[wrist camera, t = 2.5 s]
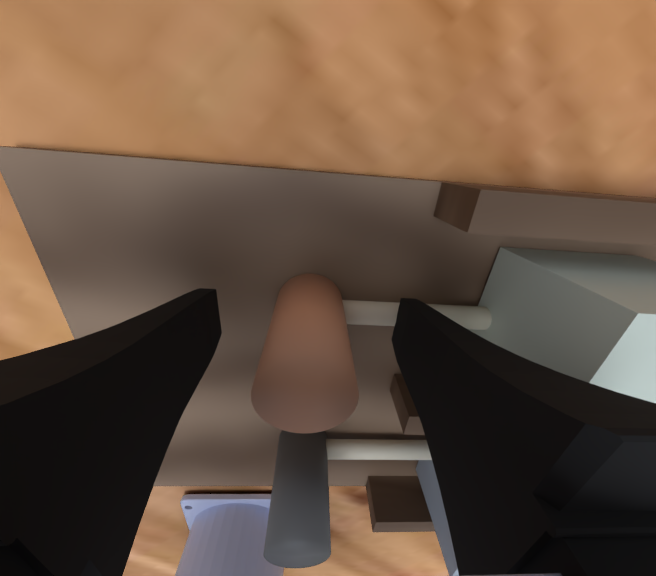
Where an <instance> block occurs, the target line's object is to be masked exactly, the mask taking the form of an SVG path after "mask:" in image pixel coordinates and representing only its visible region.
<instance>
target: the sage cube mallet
mask: <svg viewBox="0 0 656 576" xmlns="http://www.w3.org/2000/svg"><path fill="white" fill-rule="evenodd" d="M399 304H400V303H398V302H376V301H355V300H342V296H341V293H340V291H339V289H338V287H337V286H336V285H335V284H334V283H333V282H332V281H331V280H329V279H328V278H326V277H324V276H321V275H318V274H301V275H298V276H295V277H293V278H291V279H290V280H288V281H287V282H286V283H285V284H284V285H283V286H282V288H281V289H280V291H279V294H278V297H277V301H276V304H275V308H274V312H273V315H272V319H271V322H270V326H269V329H268V333H267V336H266V340H265V343H264V347H263V350H262V354H261V357H260V361H259V364H258V368H257V371H256V375H255V379H254V382H253V386H252V390H251V401H252V405H253V407H254V409H255V411H256V413H257V414H258V415H259V416H260V417H261V418H262V419H263V420H264V421H265V422H267V423H268V424H270V425H272V426H273V427H276V428H278V429H281V430H284V431H288V432H293V433H317V432H322V431H325V430H329V429H331V428H334V427H336V426H338V425H339V424H341V423H342V422H344V421H345V420H346V419H348V418H349V417H350V415H351V414H352V413H353V412H354V410H355V408H356V406H357V404H358V400H359V391H358V385H357V379H356V374H355V368H354V362H353V357H352V351H351V346H350V340H349V335H348V329H347V324H353V325H377V326H395V323H396V319H397V313H398V308H399ZM427 305H429V306H430V307H432V308H434V309H435V310H437V311H438V312H440V313H442V314H443V315H445V316H446V317H448V318H450V319H451V320H453V321H455V322H456V323H458V324H459V325H461V326H463V327H465V328H466V329H469V330H470V331H471V332H473V333H475V334H477V335H479V336H480V337H482V338H484V339H486V340H488V341H490V342H492V343H494V344H496V345H498V346H500V347H502V348H504V349H506V350H508V351H510V352H512V353H514V354H516V355H519V356H521V357H523V358H525V359H528V360H530V361H532V362H535V363H537V364H540V365H542V366H545V367H547V368H550V369H552V370H555V371H557V372H560V373H563V374H565V375H568V376H571V377H574V378H576V379H579V380H582V381H585V382H588V383H591V384H594V385H597V386H600V387H603V388H606V389H609V390H612V391H615V392H618V393H622V394H625V395H628V396H632V397H635V398H639V399H642V400H646V401H649V402H653V403H656V261H653V260H650V259H647V258H643V257H640V256H634V255H619V254H603V253H587V252H571V251H556V250H540V249H524V248H509V247H500V249H499V252H498V255H497V257H496V260H495V262H494V265H493V268H492V270H491V273H490V276H489V278H488V281H487V283H486V286H485V289H484V291H483V294H482V296H481V299H480V302H479V304H478V306H461V305H440V304H427Z"/></svg>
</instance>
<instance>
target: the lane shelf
mask: <svg viewBox="0 0 656 576" xmlns="http://www.w3.org/2000/svg"><path fill="white" fill-rule="evenodd" d="M0 171H1V174H2V176H3V178H4V180H5V183H6V185H7V187H8V189H9V192H10V194H11V196H12V198H13V201H14V203H15V205H16V208H17V210H18V212H19V214H20V217H21V219H22V221H23V223H24V226H25V228H26V230H27V232H28V235H29V237H30V239H31V241H32V244H33V246H34V248H35V251H36V253H37V255H38V257H39V260H40V262H41V264H42V266H43V269H44V271H45V273H46V275H47V278H48V280H49V282H50V284H51V287H52V289H53V291H54V294H55V296H56V298H57V300H58V303H59V305H60V307H61V309H62V312H63V314H64V316H65V318H66V321H67V323H68V325H69V327H70V330H71V332H72V334H73V337H74V339H78V338H81V337H84V336H86V335H89V334H92V333H95V332H98V331H101V330H103V329H106V328H109V327H111V326H114V325H116V324H119V323H121V322H124V321H126V320H128V319H131V318H133V317H135V316H138V315H140V314H142V313H145V312H147V311H149V310H152V309H154V308H156V307H158V306H160V305H162V304H164V303H167V302H169V301H171V300H173V299H175V298H177V297H179V296H182V295H184V294H186V293H188V292H191V291H193V290H196V289H199V288H205V289H216V291H217V299H218V307H219V315H220V322H221V330H222V334H221V337H220V340H219V343H218V346H217V348H216V351H215V354H214V356H213V358H212V360H211V362H210V364H209V366H208V367H207V369H206V371H205V373H204V375H203V377H202V379H201V380H200V382H199V384H198V386H197V388H196V390H195V391H194V393H193V395H192V397H191V399H190V401H189V402H188V404H187V406H186V408H185V410H184V412H183V414H182V416H181V418H180V420H179V423H178V425H177V428H176V430H175V432H174V435H173V437H172V439H171V442H170V444H169V447H168V449H167V452H166V454H165V457H164V459H163V462H162V464H161V467H160V470H159V472H158V475H157V477H156V480H155V482H154V485H153V486H273V479H274V472H275V465H276V457H277V450H278V442H279V436H280V433H281V432H282V431H283V430H281V429H278V428H276V427H273V426H272V425H270V424H268V423H267V422H265V421H264V420H263V419H262V418H261V417H260V416H259V415H258V414H257V413H256V411H255V409H254V407H253V405H252V401H251V390H252V386H253V382H254V379H255V375H256V371H257V368H258V364H259V361H260V357H261V354H262V350H263V347H264V343H265V340H266V336H267V333H268V329H269V326H270V322H271V319H272V315H273V312H274V308H275V304H276V301H277V297H278V294H279V291H280V289H281V288H282V286H283V285H284V284H285V283H286V282H287V281H288V280H290V279H291V278H293V277H295V276H298V275H301V274H318V275H321V276H324V277H326V278H328V279H329V280H331V281H332V282H333V283H334V284H335V285H336V286H337V287H338V289H339V291H340V293H341V296H342V300H355V301H376V302H398V303H400V300H401V298H411V299H418V300H420V301H422V302H423V303H425V304H440V305H461V306H478V304H479V302H480V299H481V296H482V294H483V291H484V289H485V286H486V283H487V281H488V278H489V276H490V273H491V270H492V268H493V265H494V262H495V260H496V257H497V255H498V252H499V249H500V247H509V248H524V249H540V250H556V251H571V252H587V253H603V254H619V255H634V256H640V257H643V258H647V259H650V260H653V261H656V198H645V197H633V196H621V195H608V194H596V193H583V192H571V191H558V190H546V189H534V188H521V187H509V186H496V185H484V184H471V183H459V182H447V181H434V180H422V179H409V178H397V177H384V176H372V175H360V174H347V173H335V172H322V171H310V170H297V169H285V168H272V167H260V166H248V165H235V164H223V163H210V162H198V161H185V160H173V159H161V158H148V157H136V156H123V155H111V154H98V153H86V152H74V151H61V150H49V149H36V148H24V147H7V146H0ZM347 329H348V335H349V340H350V346H351V351H352V357H353V362H354V368H355V374H356V379H357V385H358V391H359V400H358V404H357V406H356V408H355V410H354V412H353V413H352V414H351V415H350V417H349V418H348V419H346V420H345V421H344V422H342V423H341V424H339V425H338V426H336V427H334V428H331V429H329V430H325V433H326V435H327V439H375V440H426V437H425V434H424V430H423V427H422V423H421V421H420V418H419V415H418V412H417V410H416V407H415V405H414V403H413V400H412V398H411V395H410V393H409V390H408V388H407V386H406V383H405V381H404V378H403V376H402V373H401V371H400V368H399V366H398V363H397V360H396V356H395V353H394V348H393V344H392V340H391V339H392V335H393V330H394V326H377V325H353V324H347ZM468 330H469V329H468ZM418 461H419V460H328V485H329V486H366V490H367V497H368V504H369V510H370V517H371V524H372V530H373V532H425V531H435V528H434V525H433V522H432V519H431V516H430V513H429V509H428V506H427V503H426V500H425V497H424V494H423V491H422V487H421V484H420V481H419V478H418V475H417V472H416V467H417V464H418Z"/></svg>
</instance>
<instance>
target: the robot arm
mask: <svg viewBox="0 0 656 576" xmlns="http://www.w3.org/2000/svg"><path fill="white" fill-rule="evenodd" d="M221 334H222V330H221V322H220V315H219V307H218V299H217V291H216V289H205V288H199V289H196V290H193V291H191V292H188V293H186V294H184V295H182V296H179V297H177V298H175V299H173V300H171V301H169V302H167V303H164V304H162V305H160V306H158V307H156V308H154V309H152V310H149V311H147V312H145V313H142V314H140V315H138V316H135V317H133V318H131V319H128V320H126V321H124V322H121V323H119V324H116V325H114V326H111V327H109V328H106V329H103V330H101V331H98V332H95V333H92V334H89V335H86V336H84V337H81V338H78V339H75V340H72V341H68V342H65V343H61V344H58V345H55V346H51V347H48V348H44V349H41V350H38V351H34V352H31V353H27V354H24V355H20V356H16V357H13V358H9V359H5V360H1V361H0V576H122V575H123V572H124V569H125V566H126V563H127V560H128V557H129V554H130V551H131V548H132V545H133V542H134V539H135V536H136V533H137V530H138V527H139V524H140V521H141V518H142V516H143V513H144V510H145V507H146V505H147V502H148V499H149V496H150V493H151V491H152V488H153V485H154V482H155V480H156V477H157V475H158V472H159V470H160V467H161V464H162V462H163V459H164V457H165V454H166V452H167V449H168V447H169V444H170V442H171V439H172V437H173V435H174V432H175V430H176V428H177V425H178V423H179V420H180V418H181V416H182V414H183V412H184V410H185V408H186V406H187V404H188V402H189V401H190V399H191V397H192V395H193V393H194V391H195V390H196V388H197V386H198V384H199V382H200V380H201V379H202V377H203V375H204V373H205V371H206V369H207V367H208V366H209V364H210V362H211V360H212V358H213V356H214V354H215V351H216V348H217V346H218V343H219V340H220V337H221ZM391 340H392V344H393V348H394V353H395V356H396V360H397V363H398V366H399V368H400V371H401V373H402V376H403V378H404V381H405V383H406V386H407V388H408V390H409V393H410V395H411V398H412V400H413V403H414V405H415V407H416V410H417V412H418V415H419V418H420V421H421V423H422V427H423V430H424V434H425V437H426V440H427V444H428V447H429V451H430V454H431V458H432V462H433V465H434V469H435V473H436V477H437V480H438V484H439V488H440V492H441V496H442V501H443V505H444V509H445V513H446V517H447V521H448V526H449V530H450V535H451V540H452V544H453V549H454V554H455V558H456V563H457V568H458V573H459V576H656V403H653V402H649V401H646V400H642V399H639V398H635V397H632V396H628V395H625V394H622V393H618V392H615V391H612V390H609V389H606V388H603V387H600V386H597V385H594V384H591V383H588V382H585V381H582V380H579V379H576V378H574V377H571V376H568V375H565V374H563V373H560V372H557V371H555V370H552V369H550V368H547V367H545V366H542V365H540V364H537V363H535V362H532V361H530V360H528V359H525V358H523V357H521V356H519V355H516V354H514V353H512V352H510V351H508V350H506V349H504V348H502V347H500V346H498V345H496V344H494V343H492V342H490V341H488V340H486V339H484V338H482V337H480V336H479V335H477V334H475V333H473V332H471V331H470V330H468V329H466V328H465V327H463V326H461V325H459V324H458V323H456V322H455V321H453V320H451V319H450V318H448V317H446V316H445V315H443V314H442V313H440V312H438V311H437V310H435V309H434V308H432V307H430V306H429V305H427V304H425V303H423V302H422V301H420V300H418V299H411V298H401V300H400V304H399V308H398V313H397V319H396V323H395V326H394V330H393V335H392V339H391ZM270 502H271V494H186V495H184V496H183V497H182V499H181V502H180V504H181V507H182V510H183V513H184V516H185V519H186V522H187V525H188V528H189V531H190V533H189V536H188V539H187V542H186V545H185V548H184V551H183V554H182V556H181V559H180V562H179V565H178V568H177V571H176V574H175V576H283V572H284V567H280V566H276V565H273V564H271V563H269V562H268V561H267V560H266V559H265V558H264V555H263V554H264V546H265V538H266V531H267V524H268V516H269V509H270Z"/></svg>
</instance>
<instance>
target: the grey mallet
mask: <svg viewBox="0 0 656 576" xmlns="http://www.w3.org/2000/svg"><path fill="white" fill-rule="evenodd" d="M328 460H419V461H418V464H417V467H416V472H417V475H418V478H419V481H420V484H421V487H422V491H423V494H424V497H425V500H426V503H427V506H428V509H429V513H430V516H431V519H432V522H433V525H434V528H435V532H436V535H437V538H438V541H439V544H440V547H441V550H442V554H443V557H444V560H445V563H446V566H447V569H448V572H449V576H459V573H458V568H457V563H456V558H455V554H454V549H453V544H452V540H451V535H450V530H449V526H448V521H447V517H446V513H445V509H444V505H443V501H442V496H441V492H440V488H439V484H438V480H437V477H436V473H435V469H434V465H433V462H432V458H431V454H430V451H429V447H428V444H427V440H375V439H327V435H326V433H325V431H322V432H317V433H293V432H288V431H284V430H283V431H282V432H281V433H280V436H279V442H278V450H277V457H276V465H275V472H274V479H273V487H272V494H271V502H270V509H269V516H268V524H267V531H266V538H265V546H264V554H263V555H264V558H265V559H266V560H267V561H268V562H269V563H271V564H273V565H276V566H280V567H285V568H305V567H311V566H315V565H318V564H320V563H322V562H324V561H326V560H327V559H328V558H329V557H330V554H331V541H330V513H329V485H328Z"/></svg>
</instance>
